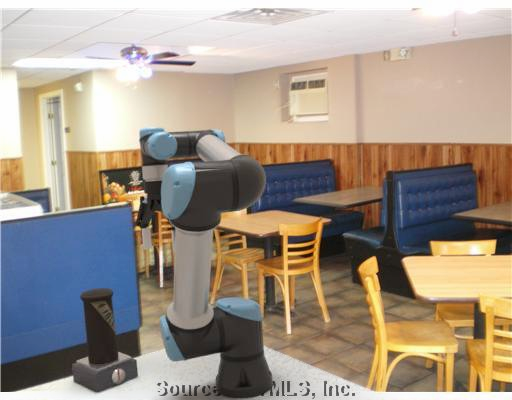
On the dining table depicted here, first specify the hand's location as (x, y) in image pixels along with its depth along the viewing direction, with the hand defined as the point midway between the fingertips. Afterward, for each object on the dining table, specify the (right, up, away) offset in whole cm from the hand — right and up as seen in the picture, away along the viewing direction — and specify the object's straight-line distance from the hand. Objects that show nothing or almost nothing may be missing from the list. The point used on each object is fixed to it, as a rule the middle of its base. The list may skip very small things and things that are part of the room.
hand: (162, 250), depth 167 cm
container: (-15, -30, -9) cm, 35 cm away
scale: (-15, -36, -9) cm, 40 cm away
